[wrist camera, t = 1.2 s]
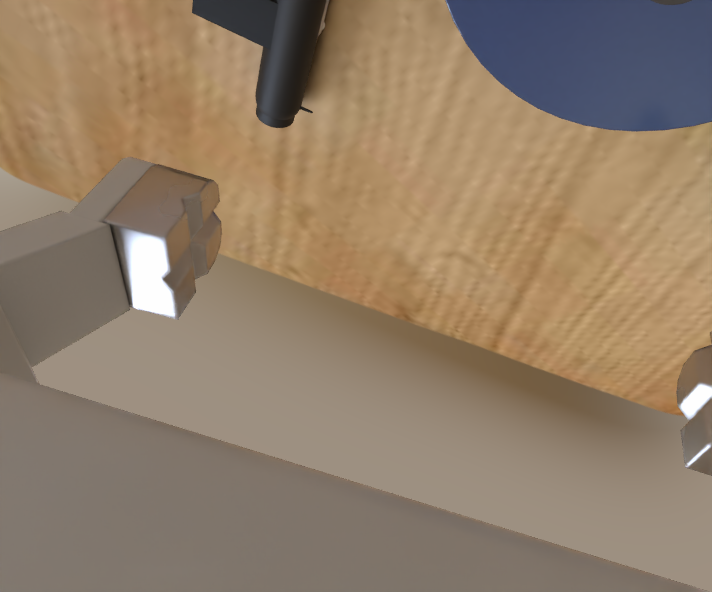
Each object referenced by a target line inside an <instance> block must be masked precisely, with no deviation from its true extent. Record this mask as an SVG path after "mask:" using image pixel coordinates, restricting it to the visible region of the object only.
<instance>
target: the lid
mask: <svg viewBox="0 0 712 592" xmlns="http://www.w3.org/2000/svg"><path fill="white" fill-rule="evenodd" d="M445 1H446V3H447V6H448V8H449V11H450V13H451V16H452V18H453V21H454V23H455V24H456V26H457V28H458V30H459V32H460V33H461V35H462V37H463V39H464V41H465V42H466V44H467V45H468V47H469V48H470V49H471V51H472V52H473V53H474V55H475V56H476V57H477V59H478V60H479V61H480V63H481V64H482V65H483V66H484V67H485V68H486V69H487V70H488V71H489V72H490V73H491V74H492V75H493V76H494V77H495V78H496V79H497V80H498V81H499V82H500V83H501V84H502V85H504V86H505V87H506V88H508V89H509V90H510V91H511V92H513V93H514V94H515V95H516V96H518V97H520V98H521V99H523V100H525V101H526V102H528V103H530V104H531V105H533V106H535V107H536V108H538V109H540V110H543V111H545V112H547V113H550V114H552V115H554V116H557V117H559V118H562V119H565V120H568V121H572V122H575V123H578V124H582V125H586V126H591V127H597V128H603V129H609V130H622V131H657V130H669V129H676V128H683V127H690V126H696V125H700V124H704V123H708V122H712V0H445Z"/></svg>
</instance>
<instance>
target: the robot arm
mask: <svg viewBox="0 0 712 592" xmlns="http://www.w3.org/2000/svg"><path fill="white" fill-rule="evenodd" d="M219 202H220V198H219V188H218V184H217V183H216V182H215V181H214V180H211V179H207V178H204V177H201V176H197V175H194V174H190V173H187V172H183V171H180V170H177V169H173V168H170V167H166V166H163V165H159V164H158V165H157V164H154V163H151V162H147V161H144V160H140V159H137V158H133V157H127V158H124V159H122V160H120V161H119V162H118V163H117V164H116V165H115V167H114V168H113V169H112V170H111V171H110V172H109V173H108V174H107V175H106V176H105V177H104V178H103V179H102V180H101V181H100V182H99V183H98V184H97V185H96V186H95V187H94V188H93V189H92V190H91V191H90V192H89V193H88V194H87V195H86V196H85V197H84V198H83V199H82V201H81V202H80V203H79V204H78V205H77V206H76V207H75V208H74V209H73V210H72V211H71V212H70V213H66V212H62V211H59V212H56V213H53V214H50V215H47V216H44V217H41V218H38V219H35V220H32V221H29V222H26V223H23V224H20V225H17V226H14V227H11V228H9V229H6V230H3V231H0V592H709V591H706V590H703V589H700V588H696V587H693V586H690V585H687V584H683V583H680V582H677V581H674V580H671V579H667V578H664V577H661V576H658V575H654V574H651V573H648V572H645V571H641V570H638V569H635V568H631V567H628V566H625V565H622V564H619V563H615V562H612V561H609V560H606V559H602V558H599V557H596V556H593V555H589V554H586V553H583V552H580V551H576V550H573V549H570V548H567V547H563V546H560V545H557V544H554V543H551V542H547V541H544V540H541V539H538V538H535V537H531V536H528V535H525V534H522V533H518V532H515V531H512V530H509V529H505V528H502V527H499V526H495V525H492V524H489V523H486V522H482V521H480V520H476V519H473V518H469V517H467V516H463V515H460V514H457V513H454V512H450V511H447V510H444V509H441V508H437V507H434V506H431V505H428V504H424V503H421V502H418V501H415V500H412V499H408V498H405V497H402V496H399V495H395V494H392V493H389V492H386V491H382V490H379V489H376V488H372V487H369V486H366V485H363V484H360V483H357V482H353V481H350V480H347V479H344V478H340V477H337V476H334V475H331V474H327V473H324V472H321V471H318V470H315V469H311V468H308V467H305V466H302V465H298V464H295V463H292V462H289V461H285V460H282V459H279V458H275V457H272V456H269V455H266V454H263V453H260V452H256V451H253V450H250V449H247V448H243V447H240V446H237V445H234V444H230V443H227V442H224V441H221V440H217V439H214V438H211V437H208V436H205V435H201V434H198V433H195V432H192V431H188V430H185V429H182V428H179V427H175V426H172V425H169V424H166V423H163V422H159V421H156V420H153V419H150V418H147V417H143V416H140V415H137V414H134V413H130V412H127V411H124V410H121V409H118V408H114V407H111V406H108V405H105V404H101V403H98V402H95V401H92V400H88V399H85V398H82V397H79V396H76V395H72V394H69V393H66V392H63V391H59V390H56V389H53V388H50V387H46V386H43V385H40V384H39V382H38V380H37V378H36V376H35V374H34V371H33V369H32V367H33V366H35V365H36V364H38V363H40V362H42V361H44V360H45V359H47V358H48V357H50V356H52V355H54V354H55V353H57V352H58V351H61V350H62V349H64V348H66V347H67V346H69V345H71V344H72V343H74V342H76V341H77V340H79V339H81V338H83V337H84V336H86V335H88V334H90V333H91V332H93V331H95V330H96V329H98V328H100V327H102V326H103V325H105V324H107V323H108V322H110V321H112V320H113V319H115V318H117V317H119V316H120V315H122V314H124V313H125V312H127V311H129V310H130V307H132V308H136V309H139V310H143V311H147V312H151V313H155V314H158V315H162V316H166V317H170V318H174V319H179V317H180V316H181V314H182V313H183V311H184V310H185V308H186V307H187V305H188V303H189V302H190V300H191V299H192V297H193V296H194V294H195V293H196V287H195V279H197V278H199V277H201V276H204V275H206V274H208V272H209V270H210V269H211V267H212V265H213V264H214V262H215V259H216V257H217V254H218V251H219V248H220V244H221V235H222V228H221V221H220V220H219V218H218V217H217V215H216V214H215V213H214V211H213V210H214V209H215V207H216V206H217V205H218V203H219ZM710 337H711V343H712V331H711V332H710ZM677 403H678V407H679V408H680V410H681V411H682V412H683V414H684V415H685V416H686V417H687V419H688V420H689V422H688V423H687V424H686V425H685V426H684V427H683V428H682V429H681V437H682V445H683V453H684V461H685V467H686V468H689V469H692V470H695V471H699V472H702V473H705V474H708V475H711V476H712V345H710V346H707V347H704V348H701V349H698V350H695V351H694V352H693V353H692V355H691V356H690V357H689V358H688V360H687V361H686V362H685V363H684V365H683V368H682V370H681V373H680V376H679V378H678V384H677Z"/></svg>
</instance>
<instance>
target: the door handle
mask: <svg viewBox="0 0 712 592" xmlns="http://www.w3.org/2000/svg"><path fill="white" fill-rule="evenodd" d="M328 3H329V0H193V8H192V13H193V14H196V15H198V16H200V17H202V18H204V19H206V20H208V21H210V22H213V23H215V24H217V25H219V26H221V27H223V28H225V29H227V30H229V31H232V32H234V33H236V34H238V35H240V36H242V37H244V38H246V39H249V40H251V41H253V42H255V43H257V44H259V45H261V46H263V52H262V58H261V64H260V70H259V76H258V82H257V88H256V103H257V108H256V115H257V117H258V118H259V120H260V121H261V122H263V123H264V124H266V125H268V126H271V127H275V128H284V127H288V126H290V125H291V124H292V123H293V121H294V117H295V115H296V114H297V113H298V111H299V110H301V109H302V110H304V111H307V112H310V113H313V112H312V111H310V110H308V109H306V108H304V107H302V106H301V105H302V101H303V96H304V92H305V88H306V84H307V80H308V76H309V71H310V67H311V63H312V59H313V55H314V50H315V46H316V42H317V38H318V36H319V35H320V33H321V32H322V30H323V29H324V28H325V22H324V19H325V15H326V11H327V7H328Z"/></svg>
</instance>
